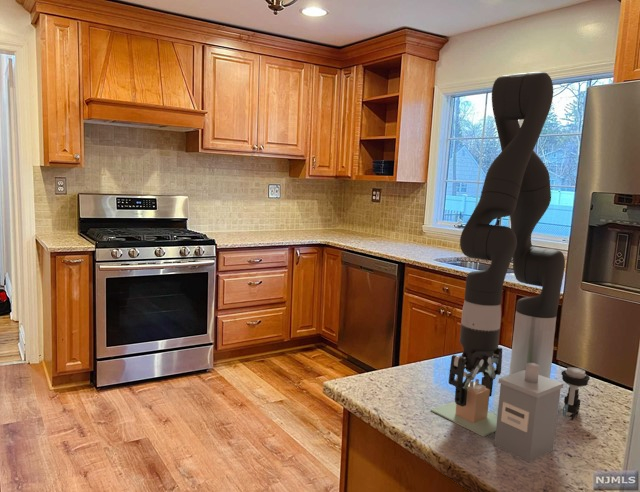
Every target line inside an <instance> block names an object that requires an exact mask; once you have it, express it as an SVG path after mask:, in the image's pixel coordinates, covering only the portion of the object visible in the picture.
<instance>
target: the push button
mask: <svg viewBox="0 0 640 492" xmlns="http://www.w3.org/2000/svg"><path fill="white" fill-rule="evenodd" d="M560 373H561V375H562V376H561V378H562V382H563V383H564V382H565V384H566V385H568V386H569V387H568V391H567V394H566V396H564V399H563V403H564V406H563V407H562V414H564V415H563V418H564V419H565V420H567V421H570V420H571V421H574V419H575V417H577V418H579V417H580V408H581V399H580V397H579V396H580V393H579V388H582V387H585V386H586V387H587V385H588V383H589V381H590V377H591V376H589V375H588V374H587V373H586V370H584V369H582V368H578V367H572V366H570V367H569V366H568V367H567V368H566V370H562V371H561V372H560ZM576 415H577V416H576Z"/></svg>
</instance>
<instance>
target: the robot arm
mask: <svg viewBox="0 0 640 492" xmlns="http://www.w3.org/2000/svg"><path fill="white" fill-rule="evenodd" d="M493 82H494V83H493V84H492V89H491V106H492V112H493V116H494V121H495V125H496V126H495V127H496V131H497V135H498V140H499V145H500V149H501V150H500V151H501V152H500V153H499V154H498V155H497V157H496V158H494V160H493V161H492V162H491V164H490V166H489V167H488V170H487V172H486V175H485V178H484V181H483V185H482V189H481V193H480V197H479V200H478V202H477V205H476V206H475V208H474V210H473V211H472V213H471V215H470V217H469V219H468V221H467V222H466V223H465V226H464V227H463V229H462V231H461V235H460V239H459V247H460V250H461V252H462V254H463V255H464V256H465V257H467V258H470V259H475V260H476V259H477V260H482V261H483V260H484V261H490V265H489V267H488V269H485V270H472V271H470V272H469V273H468V274H467V275H466V278H465V288H464V302H463V306H462V310H461V321H460V331H459V345H461V346H462V348H463V350H462V354H461V355H455V354H453V355H451V358H450V359H451V360H450V365H449V366H450V367H449V373H448V374H449V376H448V384H449V385H451V386H454V387H455V393H454V394H455V395H454V401H455V403H456V404H458V405H460V406H462V407H463V406H466V401H467V390H468V389H467V387H468V385H469V383H470V381H474V380H475V378H476V376H477V375H478V374H480V373H481V374H482V375H481V376H482V377H481V383H480V384H481V385H483V386H486V388H487V389H490V394H489V398H490V397H492V394H493V393H492V392H493V386H494V380H495V379H496V377H497V375H498V376H501V374H502V365H503V364H502V362H503V348H502V347H500V346H499V344H500V343H499V342H500V333H501V322H502V297H503V289H504V282H505V278H506V275H507V272H508V269H509V267H510V264H511V261H512V268H513V269H512V270H513V274H514V277H515V279H516V280H517V282H519V283H522V284H525V285H531V286H537V287H541V292H540V293H539V294H537V295H534V296H527V297H522V298H519V299H517V301H516V305H515V307H516V308H515V317H514V325H513V326H514V328H513V335H512V336H513V337H512V346H511V353H510V355H511V356H510V362H509V364H510V365H509V371H508V375H511V374H514V373H517V372H520V371H523V370H526V364H527V363H535V364H538V365H539V375H541V376H544V377H547V378H550V379H551V373H552V362H553V355H554V346H555V345H554V343H555V342H554V341H555V333H556V326H557V325H556V324H557V323H556V322H557V315H558V310H559V309H558V308H559V303H560V297H561V290H562V286H563V285H562V284H563V279H564V275H565V265H566V264H565V263H566V260H565V256H564V253H563V252H562V251H561V250H559V249H558V250H557V249H551V248H544V247H539V246H538V247H537V246H536V247H535V246H533V244H532V234H533V232H534V229H535V228H536V226H537V224H538V223H539V222H540V220H541V219H542V218H543V216H544V215H545V213H546V211H547V210H548V209H549V207H550V204H551V200H552V191H551V190H552V189H551V178H550V173H549V170H548V167H547V166H546V164H545V163H544V162H543V161H542V159H541V158H540V156H539V155H538V154H537V153H536V152H535V148H536V146H537V142H538V140H539V138H540V137H541V133H542V131H543V128H544V126H545V123H546V121H547V119H548V116H549V113H550V110H551V107H552V103H553V98H554V84H553V80H552V78H551V76H550V75H549V74H548V73H547V72H546V71H533V72H531V71H530V72H522V73H511V74H503V75H500V76H498V77H497V78H496V79H495V80H494V81H493ZM520 120H522V123H521V125H520V122H519V121H520ZM505 217H509V219H510V226H511V227H510V226H505V225H497V224H496V225H495V224H491V223H492V222H493V221H494V220H495V219H500V218H505ZM494 364H495V365H496V366H494ZM455 376H456V377H455Z"/></svg>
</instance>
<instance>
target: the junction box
mask: <svg viewBox="0 0 640 492" xmlns="http://www.w3.org/2000/svg"><path fill="white" fill-rule="evenodd" d="M498 383H499V384H500V386H499V387H500V389H499V397H498V405H497V406H498V408H497V414H496V415H497V425H496V432H495V433H494V434H495V437H494V444H493V446H496V447H497V448H499V449H501V450H502V451H505V452H507V453H508V454H509V453H510V454H511V455H512V456H513V455H514V456H516V457H517V458H520V459H521V460H523V461H524V462H525V461H526V462H528V463H532V462H533V461H535V460H537V459H539V458H541V457H543V456H545V455H546V454H548V453H550V452H552V451H554V449H555V447H554V446H555V437H556V430H557V422H558V421H557V420H558V415H559V404H560V396H561V390H562V389H563V388H564V385H565V384H564V382H560V381H558V380H555V379H553V378H551V377H550V378H547V377H544V376H541V375H539V365H538V364H535V363H527V364H526V370H523V371H520V372H517V373H514V374H511V375H509V374H508V375H504V376H502V377H499V378H498Z"/></svg>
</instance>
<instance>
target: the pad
mask: <svg viewBox="0 0 640 492" xmlns="http://www.w3.org/2000/svg"><path fill="white" fill-rule="evenodd" d="M430 412H432V413H435V414H437V415H438V416H440V417H442V418H445V419H447V420H449V421H450V422H453V423H455V424H457V425H458V426H461V427H462V428H465V429H467V430H469V431H471V432H473V433H475V434H477V435H479V436H481V437H482V438H483V437H484V438H485V437H487V436H489V435H491V434H495V433H496V425H497V415H498V414H495V413H493V412H491V411H488V414H487V418H485V419H482V420H480V421H477V422H475V423H473V422H471V421H469V420H467V419H464V418H462V417H460V416H458V415H456V414H455V413H456V403H455V400H454V401H451V402H448V403H446V404H442V405H439V406H437V407H433V408H432V409H430Z"/></svg>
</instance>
